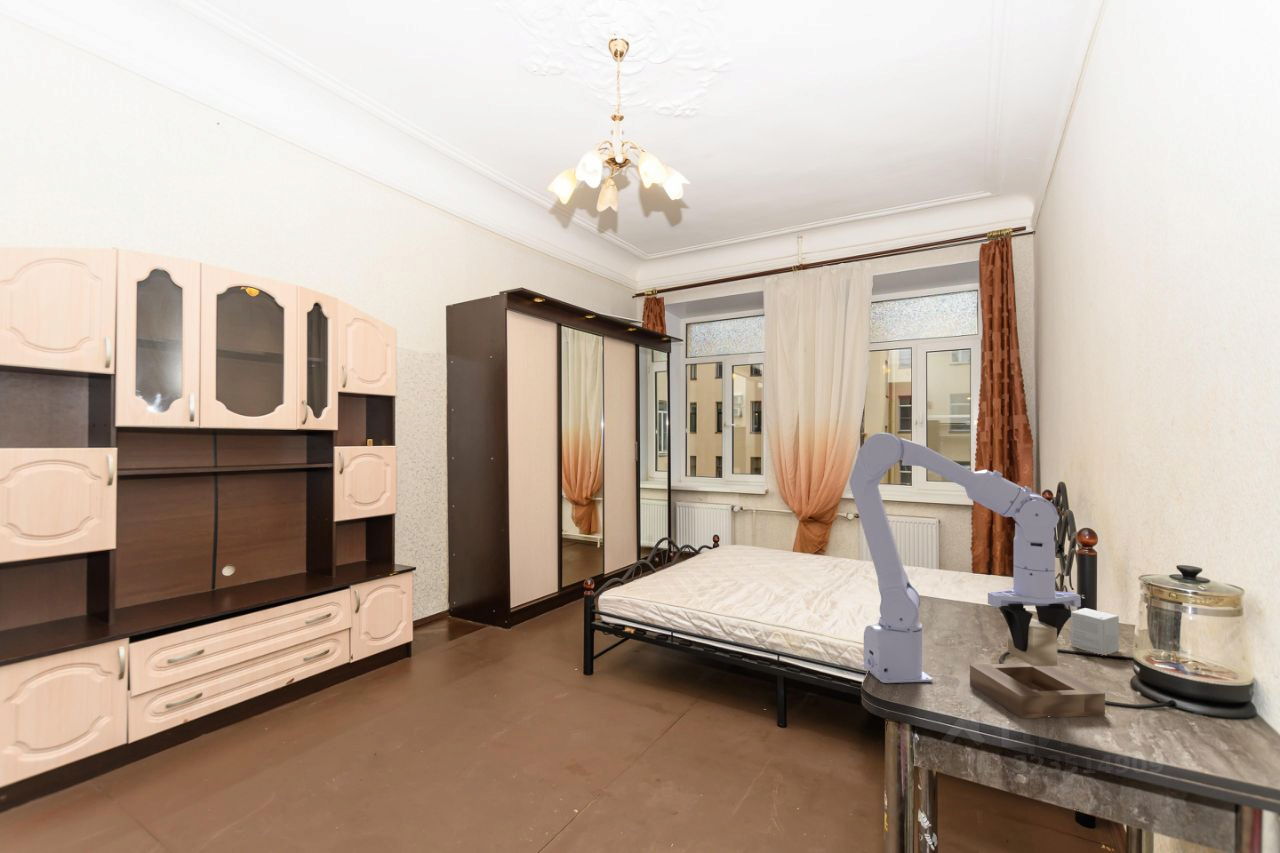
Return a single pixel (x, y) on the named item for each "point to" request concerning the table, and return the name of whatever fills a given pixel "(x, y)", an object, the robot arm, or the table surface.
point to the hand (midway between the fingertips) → (1033, 649)
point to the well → (1037, 690)
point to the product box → (1095, 631)
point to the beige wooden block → (1037, 645)
